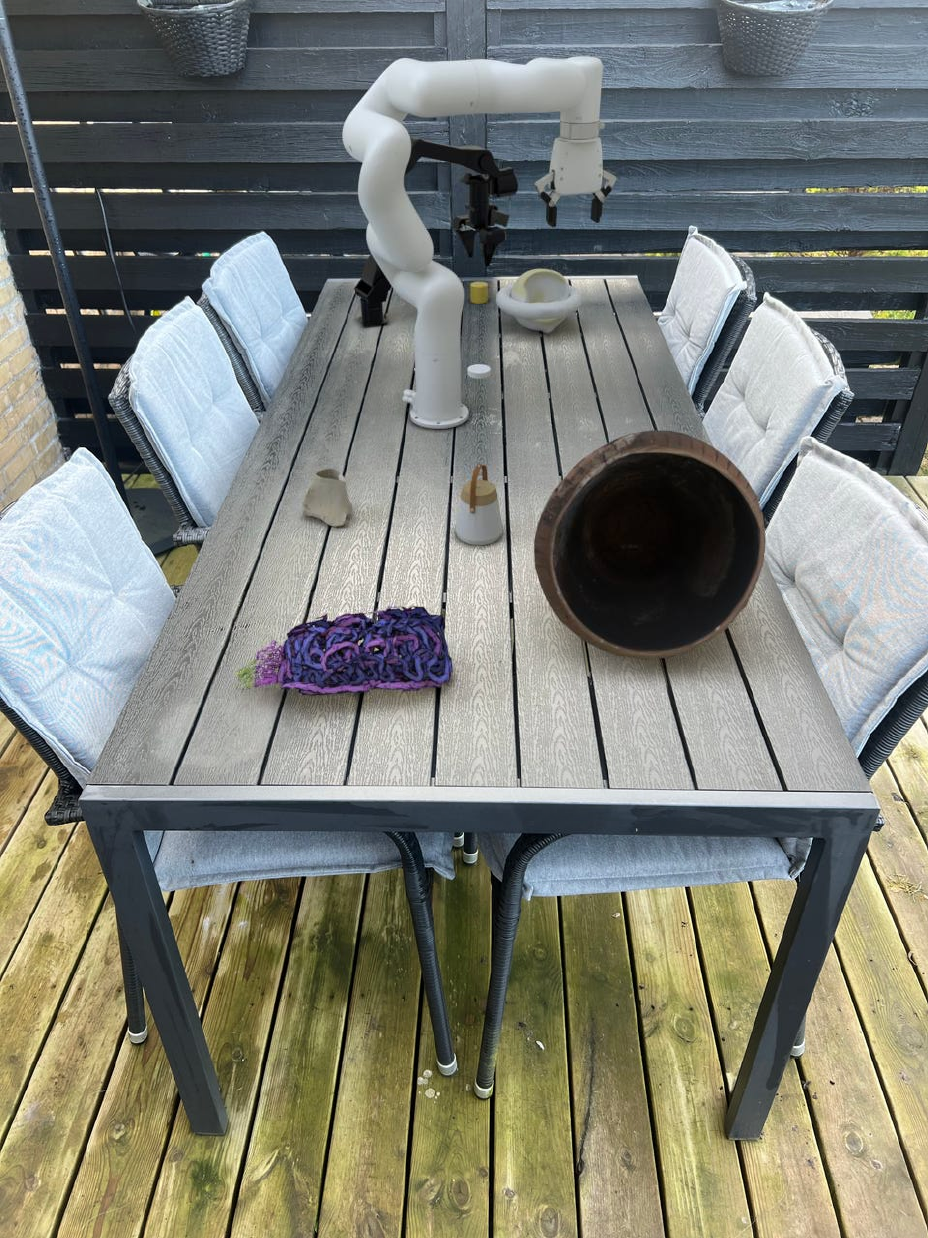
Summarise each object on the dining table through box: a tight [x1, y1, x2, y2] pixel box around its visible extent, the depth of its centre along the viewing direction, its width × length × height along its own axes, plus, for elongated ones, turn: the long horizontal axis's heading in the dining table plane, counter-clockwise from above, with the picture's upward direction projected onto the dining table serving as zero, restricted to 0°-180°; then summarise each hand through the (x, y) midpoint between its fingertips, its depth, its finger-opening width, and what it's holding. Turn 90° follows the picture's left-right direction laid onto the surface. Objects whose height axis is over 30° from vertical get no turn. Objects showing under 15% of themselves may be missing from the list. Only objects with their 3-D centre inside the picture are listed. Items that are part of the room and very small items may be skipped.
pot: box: [533, 429, 767, 660], centre depth 139 cm, size 32×32×30 cm
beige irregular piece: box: [301, 468, 353, 528], centre depth 164 cm, size 9×8×10 cm
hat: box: [495, 268, 583, 334], centre depth 236 cm, size 25×22×15 cm
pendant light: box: [455, 363, 503, 546], centre depth 153 cm, size 8×8×30 cm
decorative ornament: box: [235, 605, 454, 697], centre depth 129 cm, size 13×11×30 cm
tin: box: [469, 281, 489, 305], centre depth 257 cm, size 5×5×5 cm
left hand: (479, 261), depth 252 cm, fingers open, 9 cm apart
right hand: (573, 223), depth 191 cm, fingers open, 9 cm apart
